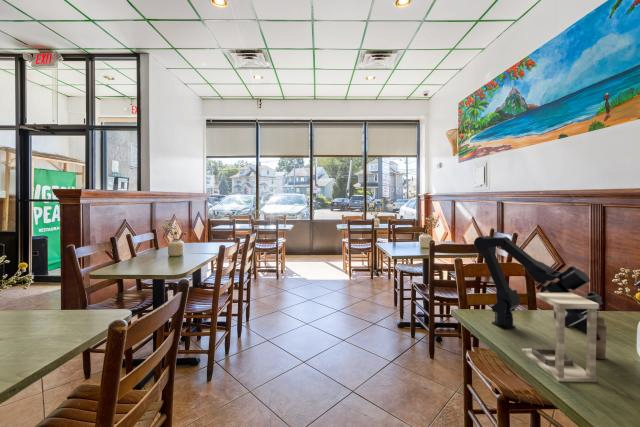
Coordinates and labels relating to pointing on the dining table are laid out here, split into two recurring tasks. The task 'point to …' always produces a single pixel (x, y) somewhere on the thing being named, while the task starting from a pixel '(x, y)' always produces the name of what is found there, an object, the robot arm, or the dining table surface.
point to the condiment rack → (555, 357)
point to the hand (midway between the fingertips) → (602, 337)
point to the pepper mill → (602, 334)
